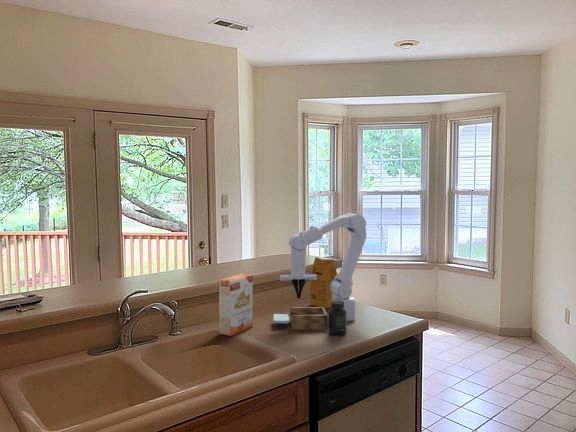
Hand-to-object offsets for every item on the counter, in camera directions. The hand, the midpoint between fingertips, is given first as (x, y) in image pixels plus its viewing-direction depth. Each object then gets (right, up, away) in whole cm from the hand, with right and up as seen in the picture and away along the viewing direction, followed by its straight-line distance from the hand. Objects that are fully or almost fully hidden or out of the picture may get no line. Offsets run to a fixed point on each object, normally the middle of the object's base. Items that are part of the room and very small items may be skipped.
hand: (298, 297), depth 193 cm
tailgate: (-4, -8, -3) cm, 9 cm away
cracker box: (-24, -11, -9) cm, 28 cm away
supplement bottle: (+14, -11, -13) cm, 23 cm away
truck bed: (+4, -10, -2) cm, 11 cm away
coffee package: (+12, -8, +27) cm, 30 cm away
